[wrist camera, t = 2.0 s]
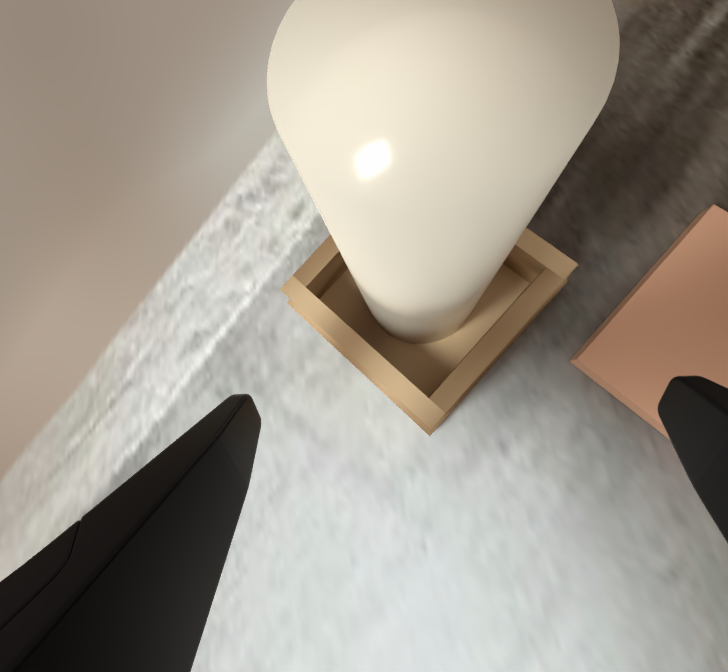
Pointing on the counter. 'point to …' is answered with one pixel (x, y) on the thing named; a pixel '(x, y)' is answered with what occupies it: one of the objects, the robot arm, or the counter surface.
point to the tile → (667, 322)
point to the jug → (435, 135)
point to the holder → (438, 359)
